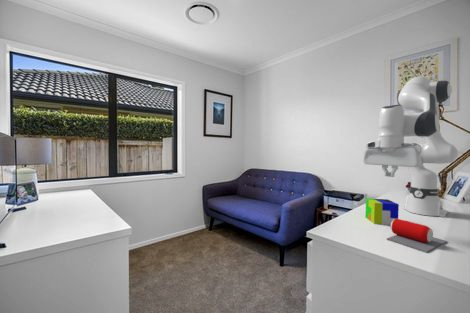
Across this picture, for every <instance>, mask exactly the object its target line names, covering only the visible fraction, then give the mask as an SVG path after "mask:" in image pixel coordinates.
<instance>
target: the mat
mask: <svg viewBox="0 0 470 313" xmlns="http://www.w3.org/2000/svg"><path fill="white" fill-rule="evenodd" d="M386 240H387V241H389V242H390V241H391V242H393V243H395V244H399V245H402V246H405V247H407V248H408V247H409V248H411V249H414V250H416V251H417V250H418V251H419V252H423V253H425V254H427V253H429V252H431V251H433V250H435V249H438V248H439V247H440V246H443V245H445V244H446V243H448V240H446V239H442V238H438V237H435V236H433V238H432V240H431V241H430V242H426V243H424V242H420V241H417V240H414V239H410V238H407V237H404V236H400V235H397V234H394V235H393V236H390V237H387V238H386ZM444 243H445V244H444Z"/></svg>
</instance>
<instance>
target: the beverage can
mask: <svg viewBox="0 0 470 313" xmlns="http://www.w3.org/2000/svg"><path fill="white" fill-rule="evenodd" d="M390 229H391V232H392V233H393V234H394V235H400V236H404V237H407V238H410V239H414V240H417V241H420V242H424V243H426V242H430V241H431V240H432V238H433V237H434V232H433V229H432V228H430V227H429V226H427V225H425V224H419V223H416V222H412V221H407V220H403V219H400V218H398V219H394V220H393V221H392V222H391V225H390Z"/></svg>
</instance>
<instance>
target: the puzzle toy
mask: <svg viewBox="0 0 470 313" xmlns="http://www.w3.org/2000/svg"><path fill="white" fill-rule="evenodd" d="M365 219H367V220H369V222H370V223H373V224H374V225H384V226H385V225H386V226H391V222H392V221H393V220H394V219H399V203H397V202H395V201H393V200H390V199H388V198H386V199H384V198H367V197H366V198H365Z"/></svg>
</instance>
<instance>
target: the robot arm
mask: <svg viewBox="0 0 470 313" xmlns="http://www.w3.org/2000/svg"><path fill="white" fill-rule="evenodd" d="M452 92H453V86H452V85H451V83H450V82H449V81H448V80H437V81H431V82H430V81H429V79H428V78H427V77H425V76H419V75H418V76H414V77H412V78H410V79H409V80H408V81H407V82H406V83H405V84H404V86H402V88H401V89H400V90H398V92H397V94H396V101H397V104H392V105H386V106H385V105H384V106H382V107H381V108H380V110H379V115H378V122H377V123H378V124H377V125H378V126H377V127H378V131H379V132H378V135H377V139H374V140H373V141H370V142H369V141H368V142H367V143H365V148H366V149H365V150H364V152H363V158H362V159H363V160H362V161H363V164H365V165H373V166H374V165H375V166H381V168H382V171H383V172H384V177H388V178H389V177H390V178H394V177H395V174H396V172H397V170H398V169H399V167H403V168H407V169H408V172H409V173H410V186H409V194H407V195H406V198H405V200H406V201H405V206H402V209H403V210H405V211H407V212H409V213H413V214H417V215H422V216H429V217H431V216H432V217H441V218H445V217H446V216H447V215H448V213H449V210H446V209H444V208H443V204H444V202H443V201H442V200H441V198H440V197H439V192H440V188H438V175H437V174H436V172H434V171H433V170H431V169H429V168H426V167H425V165H424V164H438V165H439V164H451V163H454V162H455V160H456V159H457V158H458V155H459V153H458V152H459V151H458V149H457V147H456V146H455V145H453V144H451V143H449V142H448V141H446V139H445V138H444V137H443V136H442V134H441V130H440V129H441V128H440V127H441V126H440V107H439V106H440V105H442V104H443V103H444V102H446V101H447V100H448V99H449V98H450V96H451V95H452ZM405 109H406V110H408V111H409V110H410V111H411V110H412V111H413V112H412V113H405V111H404V110H405ZM405 137H419V138H421V139H424V140H425V143H415V142H412V143H410V142H409V143H407V142H406V143H405ZM389 166H390V167H391V169H392V170H391V171H389V170H388V168H389Z"/></svg>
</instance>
